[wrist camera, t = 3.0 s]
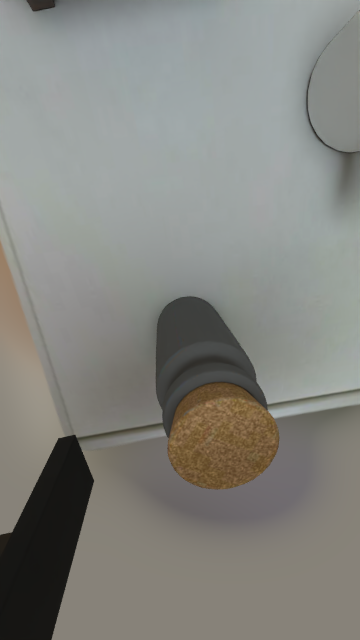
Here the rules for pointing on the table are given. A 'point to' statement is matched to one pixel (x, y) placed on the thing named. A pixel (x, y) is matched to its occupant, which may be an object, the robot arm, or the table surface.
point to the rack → (40, 4)
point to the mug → (338, 90)
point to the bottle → (210, 399)
